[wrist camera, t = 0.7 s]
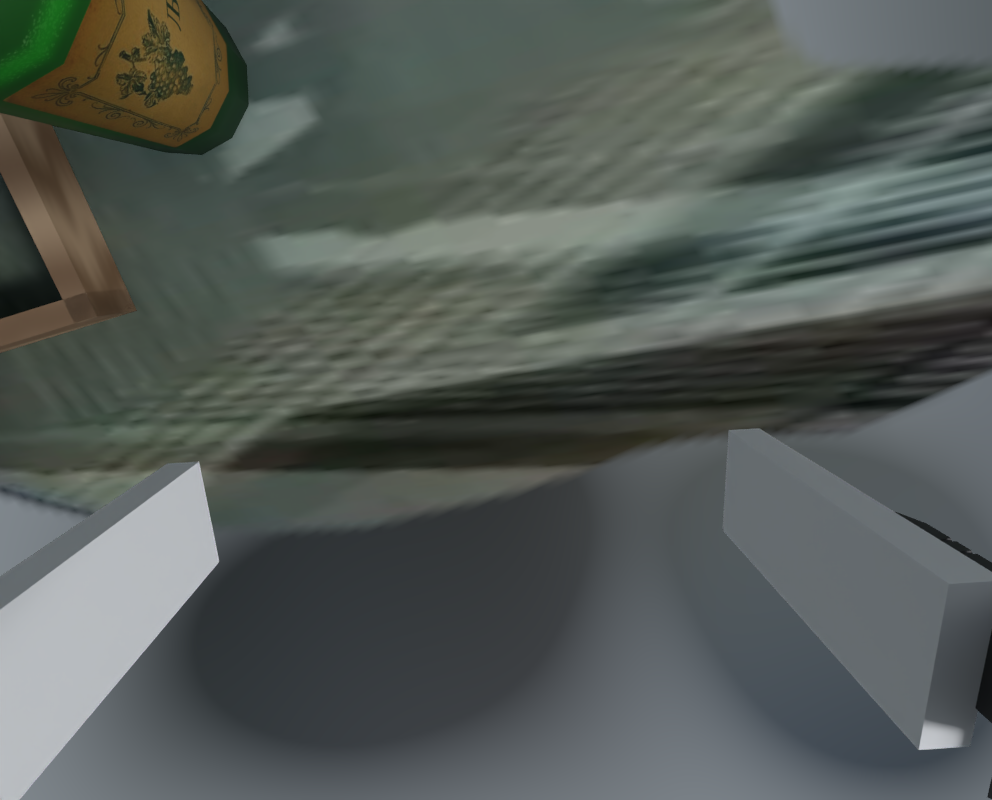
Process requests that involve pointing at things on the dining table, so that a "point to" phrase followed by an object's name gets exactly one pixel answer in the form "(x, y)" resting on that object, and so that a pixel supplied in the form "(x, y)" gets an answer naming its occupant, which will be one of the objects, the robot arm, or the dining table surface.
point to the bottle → (123, 71)
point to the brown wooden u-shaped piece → (57, 237)
